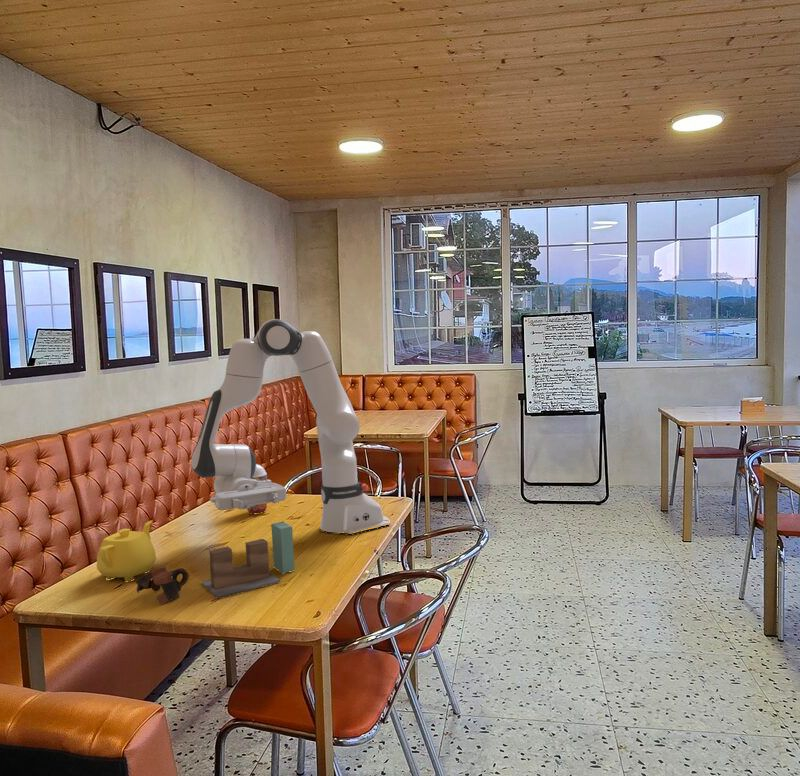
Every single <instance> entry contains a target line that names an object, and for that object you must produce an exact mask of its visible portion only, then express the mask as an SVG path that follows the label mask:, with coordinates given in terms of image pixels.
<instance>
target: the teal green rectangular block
mask: <svg viewBox="0 0 800 776" xmlns="http://www.w3.org/2000/svg"><path fill="white" fill-rule="evenodd" d="M270 525H271V539H272V540H271V543H272V544H271V545H272V557H273V568H274V567H275V568H276V569H278V570H279V571H280V572H279V571H278V570H277V571H278V572H279V573H281V572H282V573H286V572H289V571H293V570H295V554H294V553H295V551H294V540H293V539H294V537H293V526H292V525H290V524H288V523H286V522H284V521H279V522H274V523H271V524H270ZM275 568H274V569H275ZM276 569H275V570H276ZM282 573H281V574H282ZM286 574H287V573H286Z"/></svg>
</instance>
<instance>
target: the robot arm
mask: <svg viewBox="0 0 800 776" xmlns="http://www.w3.org/2000/svg"><path fill="white" fill-rule="evenodd" d="M272 356H273V357H274V356H275V357H279V356H280V357H282V356H291V358H292V360H293V361H294V362H295V364H296V367H297V368H296V369H297V370H298V374H299V376H300V378H301V382H302V384H303V386H304V389H305V392H306V394H307V396H308V399H309V401H310V403H311V405H312V406H313V409H314V411H315V413H316V419H315V423H316V431H317V432H316V433H317V439H318V449H319V453H320V460H321V474H322V475H321V479H322V480H321V481H322V484H321V490H320V491H321V492H320V494H321V502H322V513H321V521H320V526H319V529H320V528H321V529H322V530H324V531H328V532H344V533H353V532H357V531H361V530H364V529H368V528H371V527H376V526H381V525H384V524H389V523H390V524H391V520H390V518H389V517H387V516H386V515H384V514H383V509H382V506H381V504H379V503H378V502H377V501H376V500H374V499H373V498H372V497H370V496H369V495H367V494H366V493H364V492H367V491H368V490H369V485H367V484H366V483H362V482H360V481H358V467H357V464H358V463H357V456H356V452H355V447H354V443H353V441H354V439H356V438H357V436H358V434H359V433H360V429H361V428H360V427H361V426H360V422H359V419H358V416H357V414H356V412H355V410H354V408H353V405H352V403H351V401H350V398H349V397H348V394H347V393H346V390H345V388H344V386H343V385H342V382H341V379H340V377H339V373H338V372H337V369H336V365H335V363H334V361H333V357H332V356H331V353H330V351H329V349H328V346H327V344H326V343H325V341H324V339H323V338H322V335H320V334H319V332H317V331H314V330H305V331H302V332H299V330H297V329H296V328H295V327H294V326H293V325H292V324H290V323H289V322H287V321H286V320H284V319H280V318H274V319H273V318H272V319H269V320H267V321H265V322H263V324H262V325H261V326H260V327H259V329H258V331H257V332H256V333H255V334H254V336H253V338H240V339H238V340H236V341H234V342H233V343H232V345H231V347H230V350H229V353H228V358H227V361H226V362H227V363H226V367H225V376H224V380H223V382H222V384H221V386H220V387H219V389H217V390H215V391H213V393H212V394H211V396H210V399H209V401H208V404H207V408H206V411H205V414H204V419H203V422H202V425H201V430H200V432H199V436H198V438H197V442H196V445H195V446H194V449H193V452H192V456H191V460H190V463H191V464H190V465H191V469H192V471H193V472H194V473H195V474H196V475H198V476H199V477H200V478H202V479H205V478H206V479H207V478H214V477H215V479H214V482H213V489H214V492H215V494H214V496H212V497H210V498H209V501H210V502H211V503H214V505H215V508H216V509H217V510H219V511H227V510H232V509H233V510H234V509H239V510H247V509H248V508H250V507H252V506H255V505H259V504H265V503H267V504H271V503H272V504H278V503H280V502H284V501H286V499H287V489H286V487H285V486H282V484H278V483H276V482H272V480H271V479H270V478H269V479H268V478H267V479H257V480H256V479H252V477H253V475H254V473H255V468H256V464H257V459H256V455H255V453H254V451H253V450H252V448H251V447H250V446H249V445H247V444H246V443H245V444H242V443H241V444H240V443H239V444H238V443H230V444H229V443H227V444H226V443H225V444H224V443H219V444H218V443H216V438H217V434H218V430H219V428H220V423H221V421H222V418H223V417H224V415H225V414H227V413H229V412H230V411H232V410H235V409H237V408H241V407H244V406H246V405H249V404H251V403H252V402H253V401H256V399H257V398H258V397H259V396H260V394H261V392H262V391H261V390H262V387H263V382H264V381H263V379H264V378H263V377H264V369H265V364H266V361H268V360H267V359H269V358H270V357H272ZM383 515H384V516H383ZM384 520H388V521H384ZM322 530H321V531H322ZM324 531H323V532H324Z"/></svg>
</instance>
